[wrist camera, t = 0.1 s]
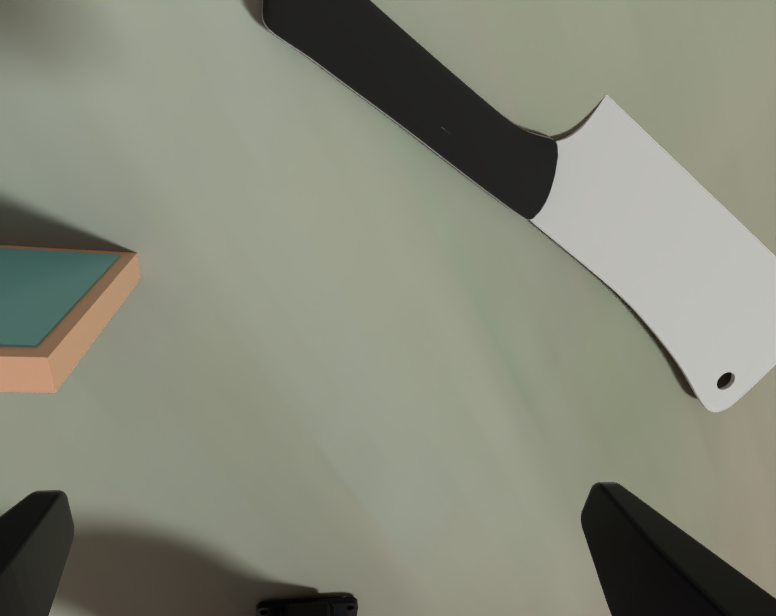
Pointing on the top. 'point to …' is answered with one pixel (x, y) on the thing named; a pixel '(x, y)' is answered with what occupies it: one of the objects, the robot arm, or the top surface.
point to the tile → (55, 310)
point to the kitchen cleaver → (573, 193)
